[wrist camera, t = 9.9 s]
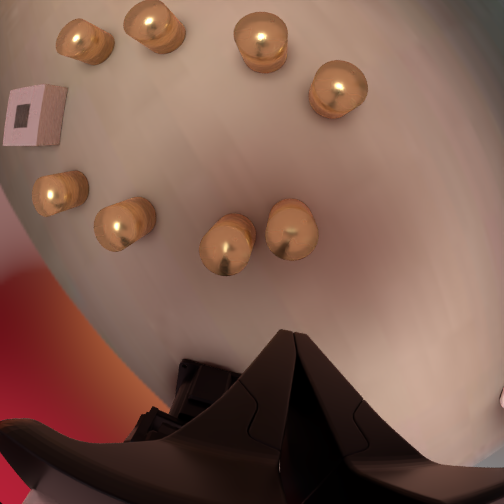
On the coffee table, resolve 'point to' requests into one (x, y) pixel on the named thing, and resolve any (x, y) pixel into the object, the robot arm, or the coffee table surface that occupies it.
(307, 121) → the coffee table surface
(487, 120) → the coffee table surface
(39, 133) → the zinc nut
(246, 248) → the spacers
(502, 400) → the cherub figurine
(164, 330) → the coffee table surface
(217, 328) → the coffee table surface
